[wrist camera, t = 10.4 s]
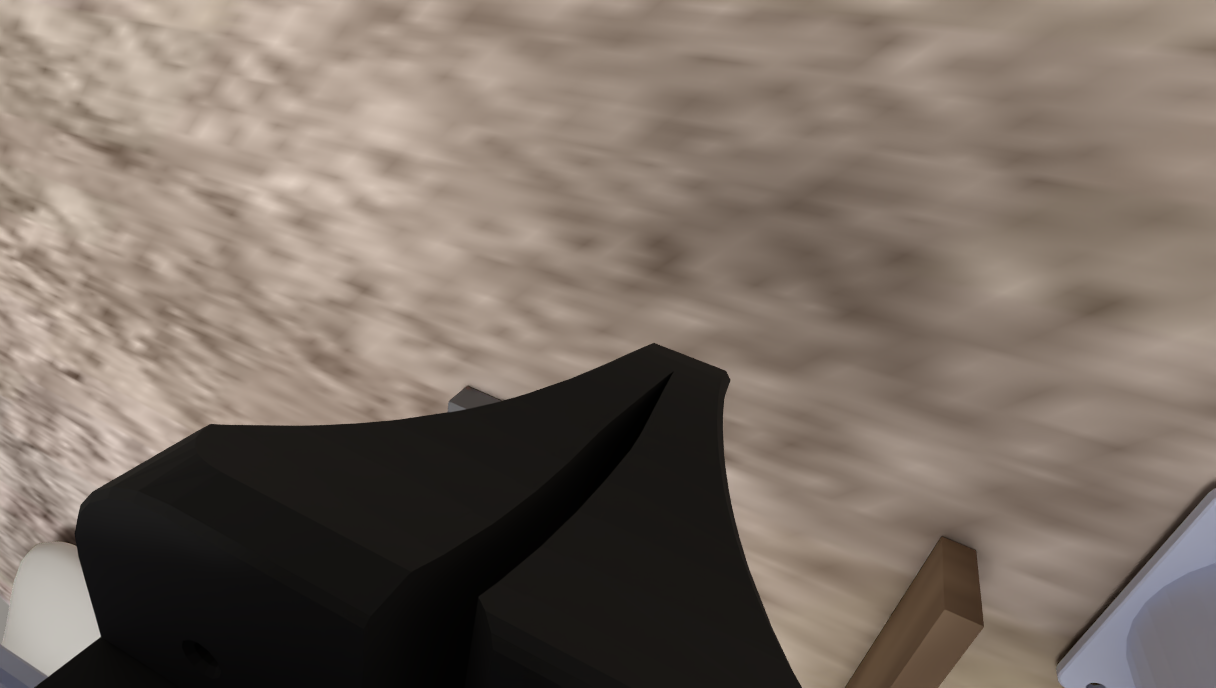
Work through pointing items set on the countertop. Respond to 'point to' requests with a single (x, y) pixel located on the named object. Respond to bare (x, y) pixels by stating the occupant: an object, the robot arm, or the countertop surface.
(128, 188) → the countertop surface
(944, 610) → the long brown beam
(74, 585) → the flower in vase
